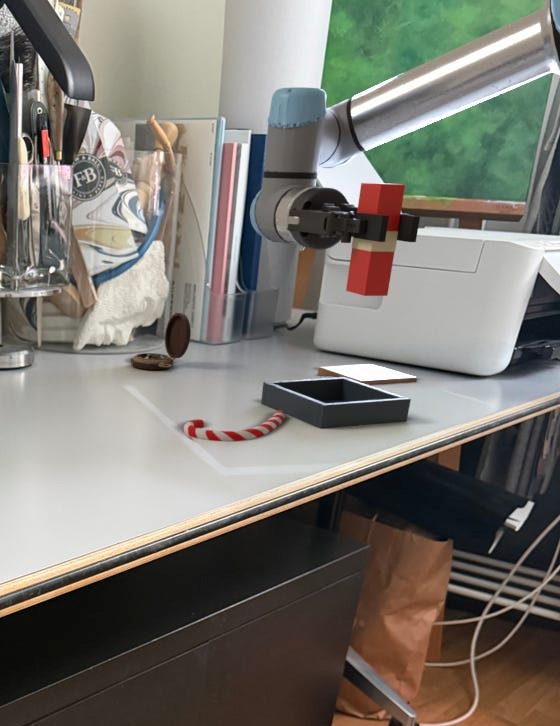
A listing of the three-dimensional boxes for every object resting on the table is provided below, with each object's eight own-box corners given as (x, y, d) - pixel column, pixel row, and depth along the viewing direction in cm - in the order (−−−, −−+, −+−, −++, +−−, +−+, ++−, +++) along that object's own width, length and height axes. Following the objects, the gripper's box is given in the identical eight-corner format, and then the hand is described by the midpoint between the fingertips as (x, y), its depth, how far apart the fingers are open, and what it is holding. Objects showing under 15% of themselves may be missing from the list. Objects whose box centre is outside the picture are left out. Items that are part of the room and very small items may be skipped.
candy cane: (308, 414, 104) (230, 437, 95) (307, 426, 105) (228, 450, 95) (250, 402, 109) (170, 423, 99) (249, 413, 110) (169, 435, 100)
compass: (122, 363, 136) (124, 311, 132) (171, 361, 138) (174, 309, 135) (147, 374, 129) (150, 319, 126) (197, 371, 132) (201, 317, 128)
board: (415, 384, 127) (417, 377, 126) (360, 388, 124) (361, 380, 123) (370, 370, 135) (371, 363, 135) (317, 373, 132) (318, 366, 132)
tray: (406, 425, 106) (411, 398, 105) (320, 432, 102) (324, 405, 101) (340, 401, 117) (344, 376, 115) (260, 407, 113) (263, 381, 111)
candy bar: (368, 290, 116) (384, 183, 111) (388, 295, 112) (406, 184, 106) (345, 290, 116) (360, 182, 110) (364, 295, 111) (381, 183, 106)
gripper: (364, 248, 129) (457, 265, 109) (253, 247, 126) (328, 264, 106) (373, 188, 126) (471, 193, 105) (260, 185, 123) (337, 190, 102)
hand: (399, 229), depth 105 cm, fingers closed on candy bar, 3 cm apart
